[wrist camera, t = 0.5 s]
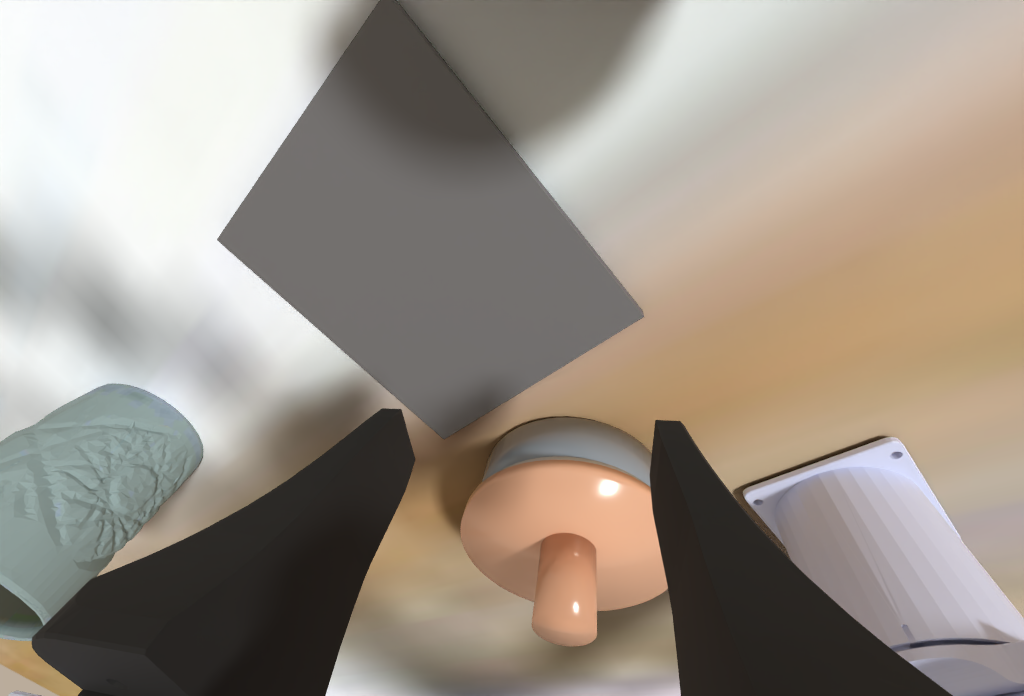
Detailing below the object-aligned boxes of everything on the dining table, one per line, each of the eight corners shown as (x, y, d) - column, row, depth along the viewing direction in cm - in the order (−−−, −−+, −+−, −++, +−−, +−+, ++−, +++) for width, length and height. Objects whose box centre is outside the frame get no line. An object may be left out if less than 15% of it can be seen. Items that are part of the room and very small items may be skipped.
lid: (727, 565, 23) (755, 668, 19) (553, 614, 28) (546, 702, 24) (592, 423, 19) (592, 513, 15) (422, 511, 25) (388, 594, 21)
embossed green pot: (73, 426, 33) (-156, 578, 23) (89, 344, 28) (-197, 494, 18) (197, 494, 35) (38, 660, 25) (233, 430, 30) (51, 606, 20)
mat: (642, 310, 20) (644, 316, 20) (446, 432, 27) (443, 439, 26) (392, -5, 15) (385, -8, 15) (225, 235, 22) (216, 239, 21)
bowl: (700, 502, 26) (716, 563, 23) (558, 553, 31) (553, 610, 28) (591, 380, 23) (590, 432, 20) (450, 461, 28) (431, 512, 25)
